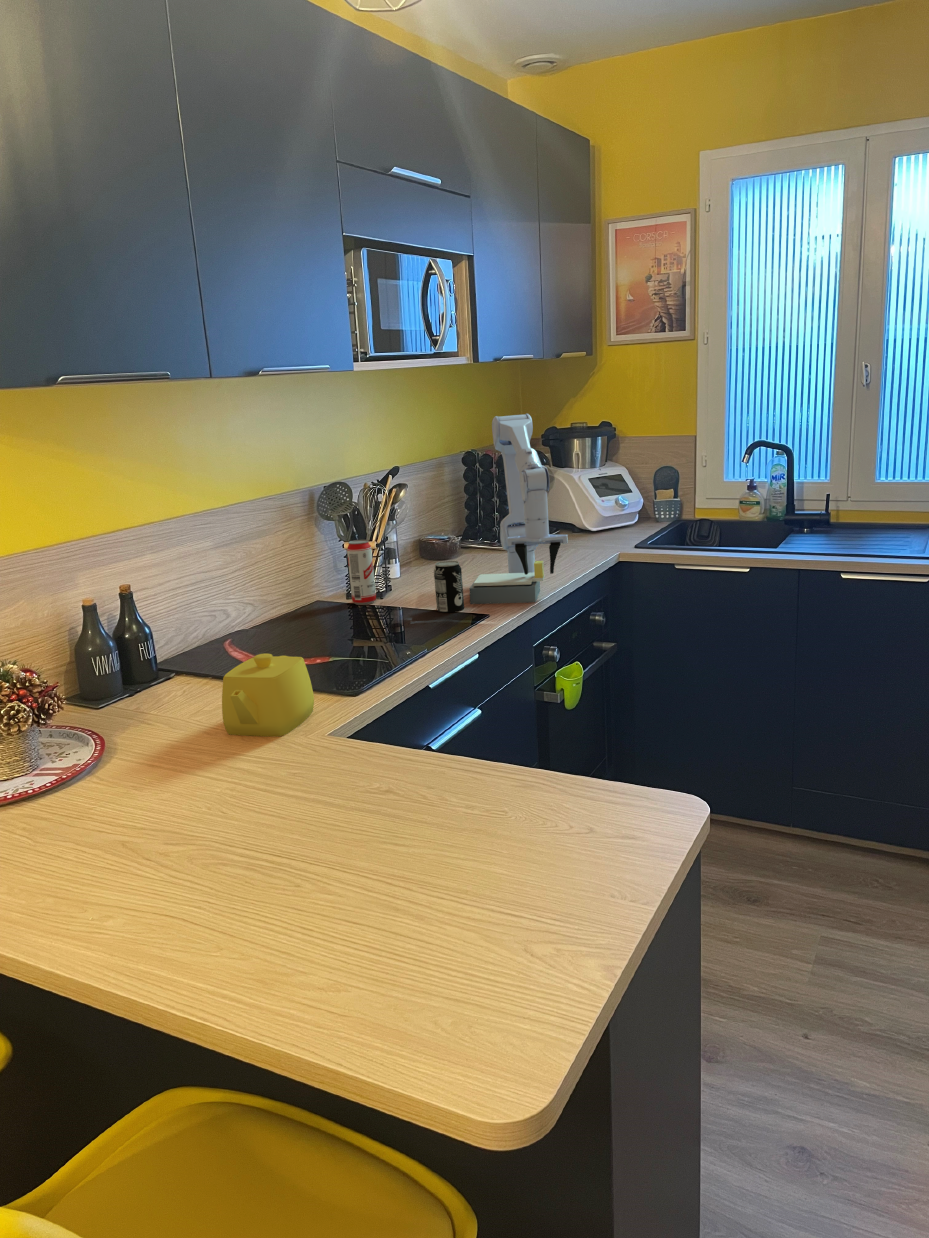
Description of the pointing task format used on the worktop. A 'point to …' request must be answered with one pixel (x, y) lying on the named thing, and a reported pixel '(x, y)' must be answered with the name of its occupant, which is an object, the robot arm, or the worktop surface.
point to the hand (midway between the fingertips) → (539, 573)
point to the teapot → (266, 696)
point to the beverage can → (448, 587)
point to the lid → (512, 577)
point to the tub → (504, 594)
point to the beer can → (361, 572)
